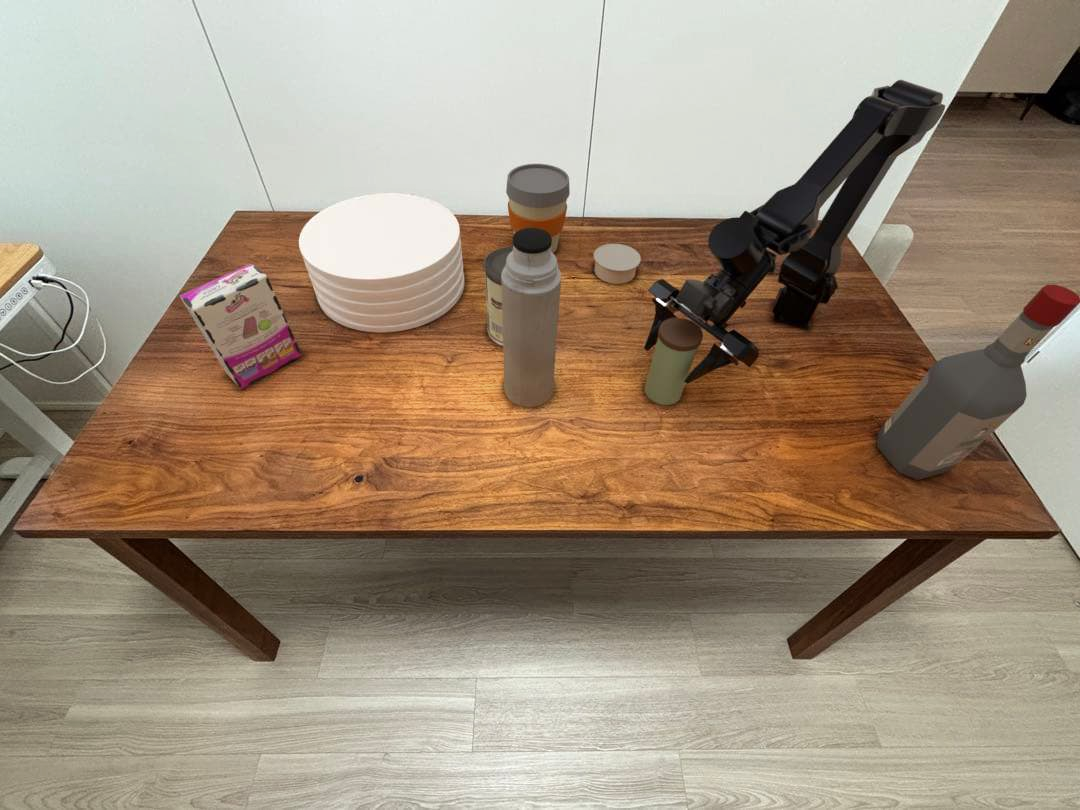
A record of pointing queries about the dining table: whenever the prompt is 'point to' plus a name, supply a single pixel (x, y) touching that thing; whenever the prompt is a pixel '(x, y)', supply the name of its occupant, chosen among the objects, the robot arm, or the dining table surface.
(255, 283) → the candy bar box
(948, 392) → the liquor
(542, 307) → the thermos bottle
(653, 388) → the cylinder
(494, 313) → the coffee can
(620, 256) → the coffee pod
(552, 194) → the reusable coffee cup
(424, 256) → the plate stack
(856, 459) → the dining table surface
